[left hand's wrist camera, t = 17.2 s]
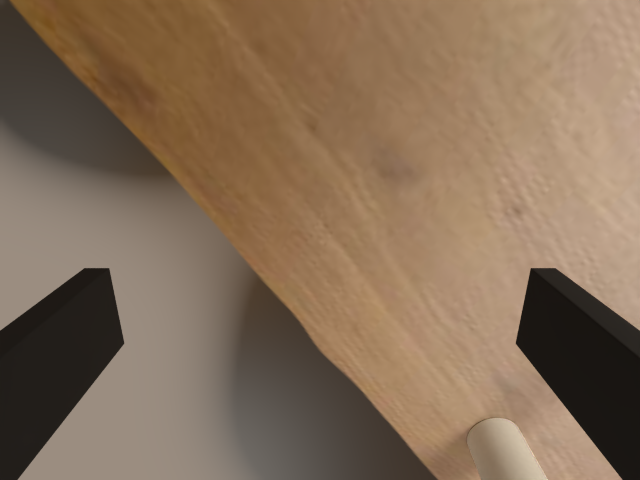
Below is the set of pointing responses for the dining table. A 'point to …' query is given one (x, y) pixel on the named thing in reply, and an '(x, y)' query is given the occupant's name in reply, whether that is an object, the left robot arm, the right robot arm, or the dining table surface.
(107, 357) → the left robot arm
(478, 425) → the canister
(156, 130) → the dining table surface
